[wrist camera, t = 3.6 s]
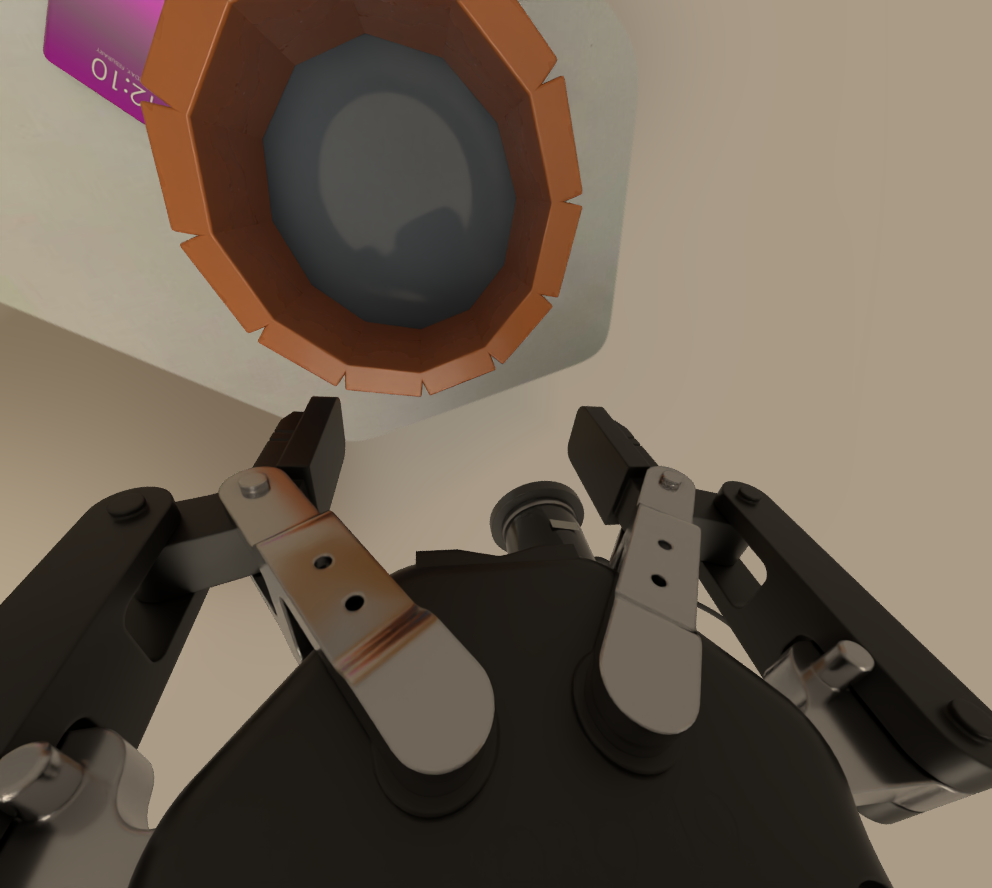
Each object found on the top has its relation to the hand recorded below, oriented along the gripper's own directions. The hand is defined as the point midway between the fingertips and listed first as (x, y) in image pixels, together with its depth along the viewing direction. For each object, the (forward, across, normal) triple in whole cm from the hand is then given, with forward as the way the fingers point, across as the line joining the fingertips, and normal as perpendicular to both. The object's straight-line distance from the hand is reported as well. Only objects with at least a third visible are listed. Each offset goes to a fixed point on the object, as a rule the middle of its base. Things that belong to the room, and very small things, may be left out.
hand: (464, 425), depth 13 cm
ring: (+10, +3, -6) cm, 12 cm away
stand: (+22, +3, -6) cm, 23 cm away
